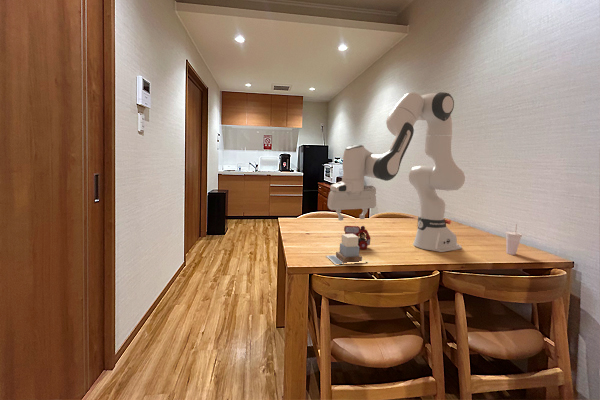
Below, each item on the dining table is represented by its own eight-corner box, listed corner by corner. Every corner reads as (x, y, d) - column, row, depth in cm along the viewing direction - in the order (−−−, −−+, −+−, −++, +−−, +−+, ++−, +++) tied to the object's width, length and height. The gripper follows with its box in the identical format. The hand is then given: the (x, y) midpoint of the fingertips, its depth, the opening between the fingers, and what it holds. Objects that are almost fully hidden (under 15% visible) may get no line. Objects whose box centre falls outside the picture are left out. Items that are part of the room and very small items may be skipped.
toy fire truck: (371, 250, 147) (372, 228, 145) (344, 249, 147) (345, 227, 145) (368, 245, 154) (369, 224, 152) (342, 244, 154) (343, 223, 152)
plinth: (353, 255, 138) (353, 250, 138) (361, 261, 130) (362, 256, 130) (335, 256, 136) (336, 251, 135) (343, 262, 128) (343, 258, 128)
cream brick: (352, 242, 135) (352, 233, 134) (357, 246, 130) (358, 236, 130) (341, 243, 134) (341, 234, 133) (346, 247, 129) (347, 237, 128)
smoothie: (514, 256, 144) (518, 226, 142) (499, 252, 150) (503, 223, 147) (522, 254, 147) (526, 225, 145) (508, 250, 153) (512, 222, 150)
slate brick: (352, 251, 136) (353, 242, 136) (358, 256, 131) (359, 246, 130) (339, 252, 135) (340, 243, 134) (345, 257, 129) (345, 247, 128)
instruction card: (355, 254, 140) (355, 253, 140) (367, 263, 129) (367, 262, 129) (325, 256, 136) (325, 255, 136) (335, 265, 126) (335, 264, 125)
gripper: (372, 184, 134) (370, 216, 136) (326, 185, 128) (325, 219, 131) (380, 186, 128) (378, 220, 130) (332, 187, 122) (331, 222, 125)
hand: (351, 219), depth 131 cm, fingers open, 8 cm apart
